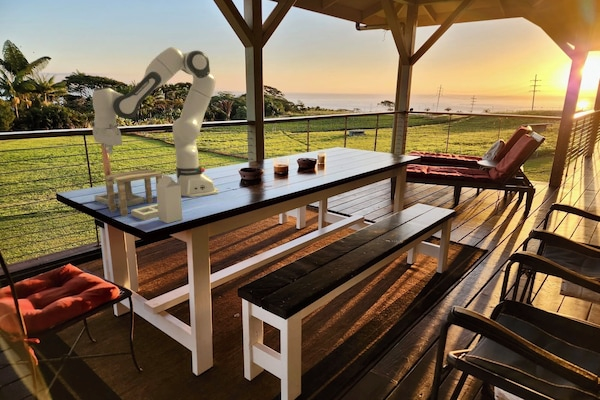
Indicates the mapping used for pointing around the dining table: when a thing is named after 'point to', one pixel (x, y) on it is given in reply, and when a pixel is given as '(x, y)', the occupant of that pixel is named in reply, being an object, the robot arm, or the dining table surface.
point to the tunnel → (120, 180)
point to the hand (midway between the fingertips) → (109, 153)
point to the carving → (127, 190)
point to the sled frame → (104, 197)
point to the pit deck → (146, 212)
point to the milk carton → (169, 200)
